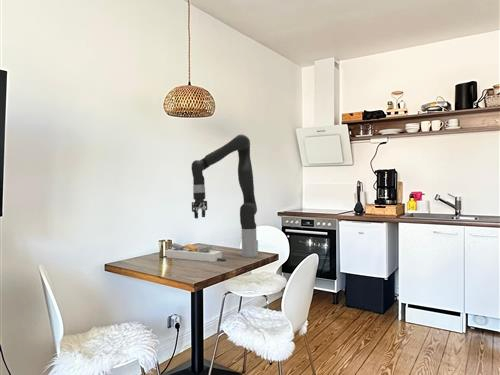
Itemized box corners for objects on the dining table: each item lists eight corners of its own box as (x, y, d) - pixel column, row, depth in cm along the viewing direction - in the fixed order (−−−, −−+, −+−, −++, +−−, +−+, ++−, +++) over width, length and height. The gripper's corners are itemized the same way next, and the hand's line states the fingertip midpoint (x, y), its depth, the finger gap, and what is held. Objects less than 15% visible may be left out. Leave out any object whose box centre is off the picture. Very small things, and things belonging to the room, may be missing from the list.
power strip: (228, 259, 216) (228, 251, 216) (221, 262, 208) (221, 253, 208) (171, 254, 235) (170, 246, 235) (162, 256, 227) (161, 249, 227)
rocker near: (212, 248, 218) (211, 245, 218) (208, 249, 215) (208, 247, 215) (202, 250, 221) (202, 247, 221) (199, 251, 218) (198, 249, 218)
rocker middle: (197, 250, 223) (198, 247, 223) (194, 251, 219) (194, 248, 219) (188, 246, 226) (189, 244, 226) (184, 247, 222) (185, 245, 222)
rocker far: (183, 248, 228) (183, 246, 228) (179, 250, 224) (179, 247, 224) (174, 245, 231) (174, 243, 231) (170, 246, 227) (170, 244, 227)
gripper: (197, 192, 222) (198, 219, 222) (210, 191, 234) (211, 216, 235) (187, 192, 225) (188, 218, 225) (200, 191, 238) (201, 216, 238)
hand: (200, 217), depth 230 cm, fingers open, 7 cm apart
